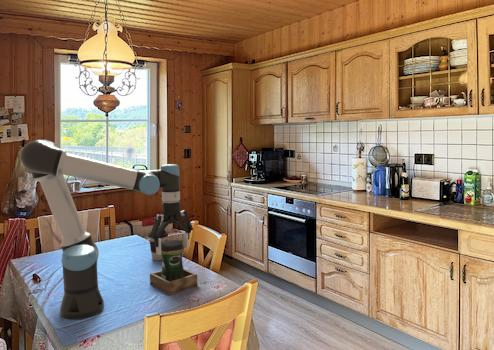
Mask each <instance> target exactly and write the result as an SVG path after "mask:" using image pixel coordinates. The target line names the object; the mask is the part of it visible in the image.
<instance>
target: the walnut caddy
mask: <svg viewBox="0 0 494 350" xmlns="http://www.w3.org/2000/svg"><path fill="white" fill-rule="evenodd" d="M183 270H184V277H183V278H180V279H177V280H174V281H167V280H165V279H163V278H161V275H162V269H161V270H158V271H155V272H151V273H149V285H150V286H152V287H153V288H156V289H158V290H159V291H161V292H163V293H165V294H167V295H169V296H171V295H174V294H176V293H180V292H182V291H185V290H188V289H191V288H194V287H197V286H198V274H197V273H195V272H194V271H191V270H188V269H186V268H184V267H183Z"/></svg>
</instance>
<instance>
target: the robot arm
mask: <svg viewBox="0 0 494 350" xmlns="http://www.w3.org/2000/svg"><path fill="white" fill-rule="evenodd" d="M19 158H20V162H21V164H22V165H23V167H25V169H27V170H28V171H30V173H31V176H32V178H33V180H34V181H37V182H39V183H40V184H39V185H40V186H41V189H42V191H43V194H44V196H45V199H46V201H47V204H48V206H49V209H50V211H51V214H52V217H53V219H54V222H55V224H56V226H57V229H58V231H59V234H60V236H61V239H62V241H61V243H60V245H59V246H60V248H61V250H62V254H61V266H62V278H63V296H62V299H61V304H60V306H59V315H60V314H61V315H60V316H62V317H61V318H63V317H64V318H63V319H66V318H67V319H66V320H83V319H87V318H88V319H89V318H91V317H94V316H96V315H98V314H100V313H101V312H102V311H103V310H104V309H105V303H104V298H103V296H102V294H101V292H100V289H99V284H98V283H99V280H98V258H99V249H98V248H99V247H98V246H97V244H96V242H94V240H93V237H92V234H91V233H90V232H88V231H86V230H85V227H84V225H83V223H82V220H81V218H80V215H79V213H78V210H77V206H76V205H75V201H74V199H73V196H72V193H71V192H70V189H69V186H68V184H67V181H66V178H65V176H69V177H73V178H77V179H82V180H87V181H91V182H96V183H101V184H105V185H109V186H114V187H119V188H123V189H128V190H133V191H135V192H139V193H143V194H144V195H149V196H150V195H154V194H156V193H157V192H158V191H159V190H160V188H161V201H162V202H161V210H162V214H158V213H157V214H156V215H155V221H154V224H153V226H152V228H151V231H150V232H151V233H150V232H149V233H150V236H148V238H149V239H150V238H152V239H154V246H155V247H156V254H158V255H161V239H159V238H160V236H161V234H162V233H163V231H164V230H165V231H166V227H168V226H169V225H172V224H176V223H177V224H178V226H179V227H181V229H182V230H183V232H182V241H183V242H182V244H183V248H186V249H189V240H190V233H192V231H193V230H194V227H193V225H192V223H191V221H190V218H189V217H188V214H187V213H188V212H187V211H186V210H183V209H182V210H181V201H180V200H181V188H180V187H181V183H180V179H181V178H180V176H181V175H180V166H179V165H178V164H176V163H171V164H170V163H167V164H166V163H165V164H161V165H160V169H149V170H146V169H145V170H144V169H143V170H141V169H139V170H136V169H132V168H129V167H125V166H121V165H115V164H111V163H107V162H104V161H99V160H95V159H90V158H87V157H82V156H78V155H75V154H70V153H67V151H66V150H65V149H62V148H59V146H58V145H57V144H56V143H55V141H54V142H53V141H51V140H49V139H45V138H41V139H36V140H32V141H29V142H27V143H26V144H24V146H22V148H21V151H20V155H19ZM180 217H182V219H181V218H180Z"/></svg>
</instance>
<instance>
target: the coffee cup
mask: <svg viewBox="0 0 494 350" xmlns="http://www.w3.org/2000/svg"><path fill="white" fill-rule="evenodd" d="M150 233H151V231H150V232H149V233H148V234H147V235H148V237H149V236H150ZM168 236H169V232H168V231H166V229H165V230H164V231H163V233H162V234H161V236H160V238H159V239H161V242H162V241H168ZM149 246H150V252H151V259H152V260H153V261H162V254H161V255H158V254H156V247H155V246H154V239H152V238H150V237H149Z"/></svg>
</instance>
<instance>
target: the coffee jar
mask: <svg viewBox="0 0 494 350" xmlns="http://www.w3.org/2000/svg"><path fill="white" fill-rule="evenodd" d="M182 241H183V240H181V239H179V238H177V239H170V240H167V241H162V242H161V254H162V260H161V262H162V263H161V270H162V275H161V278H163V279H165V280H167V281H174V280H177V279H180V278H183V277H184V270H183V268H184V266H183V265H184V263H183V252H184V247H183V242H182Z"/></svg>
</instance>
